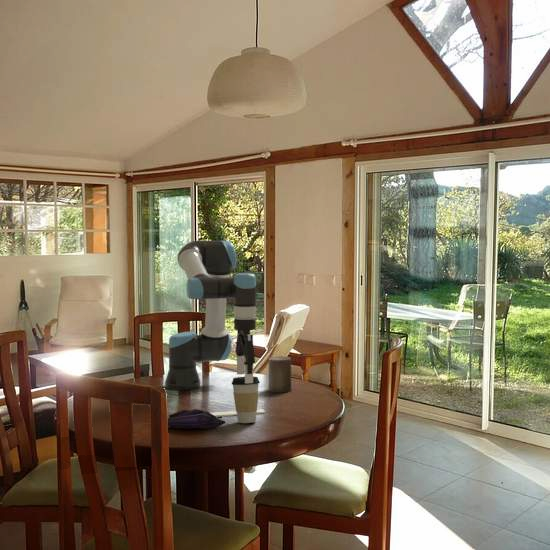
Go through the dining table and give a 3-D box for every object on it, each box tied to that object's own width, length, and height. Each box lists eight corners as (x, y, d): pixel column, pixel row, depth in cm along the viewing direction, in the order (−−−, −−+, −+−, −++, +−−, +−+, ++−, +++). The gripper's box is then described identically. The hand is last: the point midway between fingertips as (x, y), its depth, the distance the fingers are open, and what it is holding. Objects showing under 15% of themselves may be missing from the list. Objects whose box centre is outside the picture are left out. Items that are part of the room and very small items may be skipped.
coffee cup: (265, 419, 216) (263, 376, 217) (255, 424, 207) (253, 379, 208) (239, 419, 219) (237, 376, 220) (228, 423, 210) (226, 379, 211)
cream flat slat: (197, 415, 222) (197, 413, 222) (262, 410, 228) (262, 409, 228) (199, 418, 218) (199, 416, 218) (265, 413, 225) (265, 411, 225)
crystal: (161, 413, 202) (222, 409, 201) (168, 408, 213) (226, 404, 213) (162, 435, 201) (223, 431, 201) (170, 429, 213) (227, 424, 212)
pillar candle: (295, 390, 260) (295, 355, 259) (276, 393, 254) (276, 357, 254) (282, 386, 268) (282, 352, 268) (263, 389, 263) (263, 354, 262)
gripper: (264, 322, 203) (263, 386, 204) (247, 313, 227) (247, 370, 228) (241, 323, 201) (241, 387, 202) (227, 313, 225) (227, 371, 226)
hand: (244, 378), depth 215 cm, fingers open, 13 cm apart
